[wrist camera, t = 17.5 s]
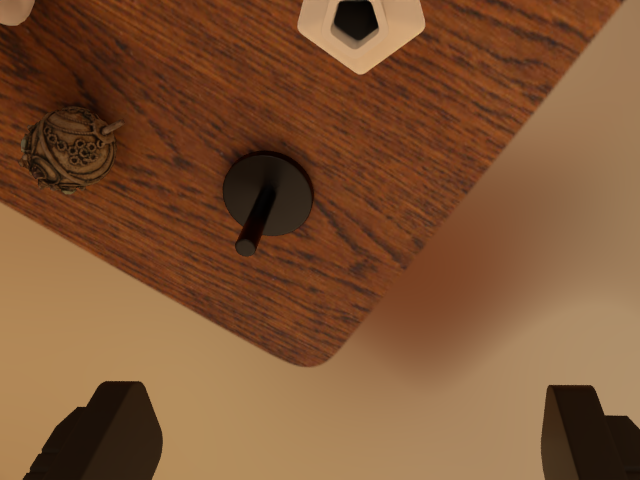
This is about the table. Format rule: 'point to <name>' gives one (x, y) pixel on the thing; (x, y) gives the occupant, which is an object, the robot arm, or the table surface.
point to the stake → (266, 197)
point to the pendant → (69, 149)
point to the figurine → (15, 11)
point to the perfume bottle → (361, 28)
